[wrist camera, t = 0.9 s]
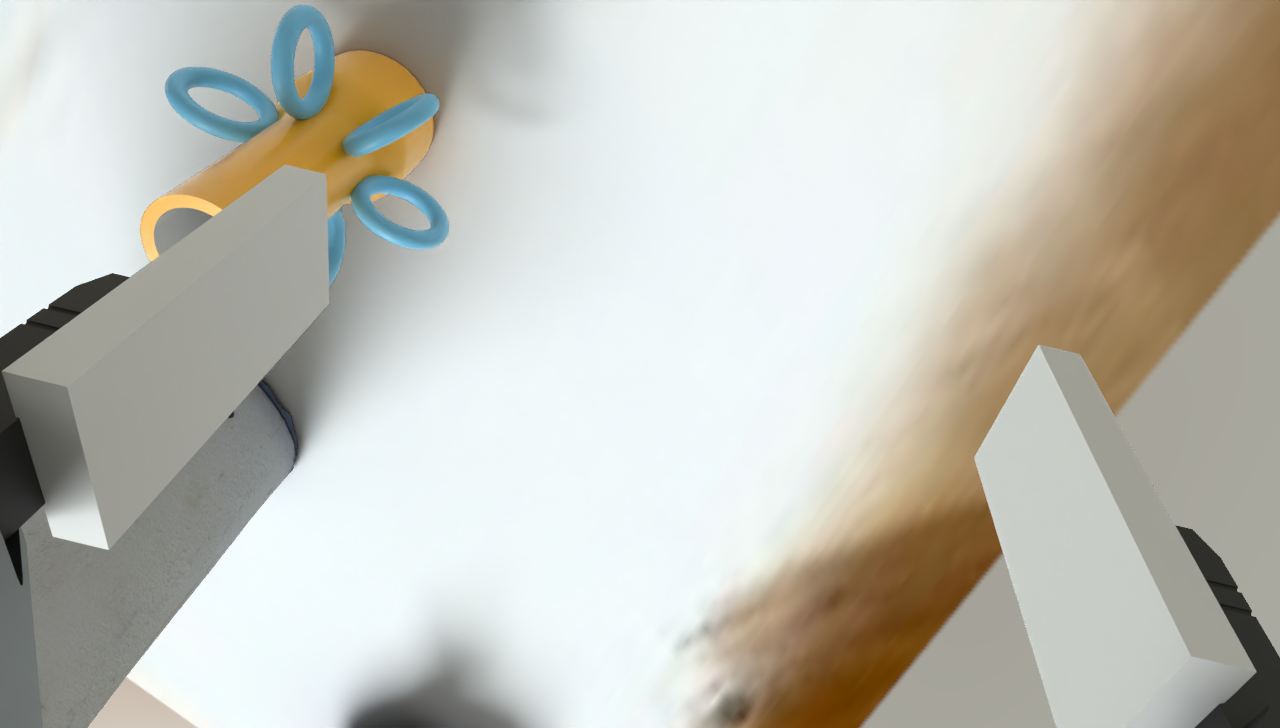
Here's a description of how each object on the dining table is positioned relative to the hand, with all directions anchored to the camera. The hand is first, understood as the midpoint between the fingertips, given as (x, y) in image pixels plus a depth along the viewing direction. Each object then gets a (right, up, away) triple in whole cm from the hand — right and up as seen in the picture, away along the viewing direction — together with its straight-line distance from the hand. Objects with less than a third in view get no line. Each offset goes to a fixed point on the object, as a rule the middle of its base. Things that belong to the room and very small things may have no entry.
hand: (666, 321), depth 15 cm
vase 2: (-13, +11, +25) cm, 30 cm away
